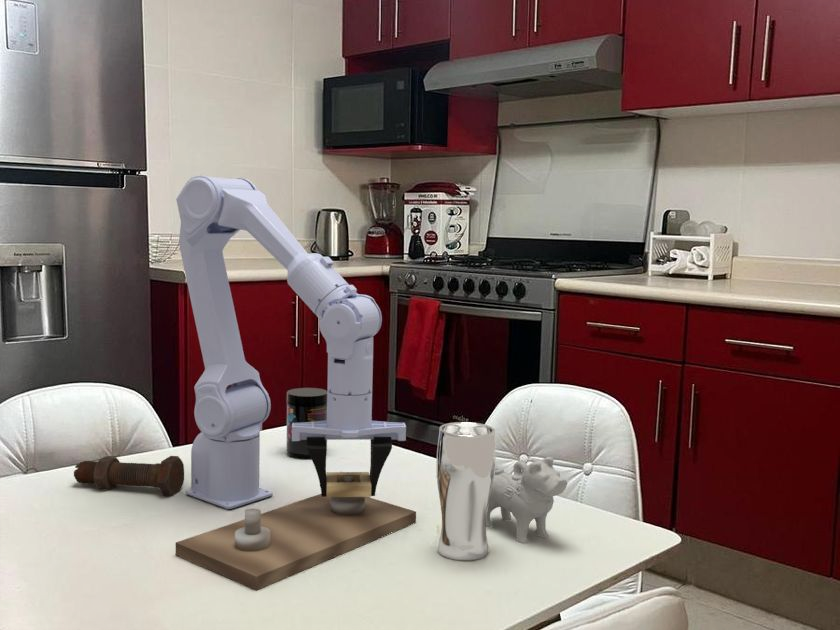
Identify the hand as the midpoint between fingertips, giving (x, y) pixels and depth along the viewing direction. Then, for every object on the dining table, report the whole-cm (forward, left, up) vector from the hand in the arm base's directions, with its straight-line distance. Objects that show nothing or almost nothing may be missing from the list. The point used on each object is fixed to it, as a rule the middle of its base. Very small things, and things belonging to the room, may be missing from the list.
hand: (347, 493), depth 112 cm
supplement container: (-26, +18, -4) cm, 32 cm away
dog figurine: (+19, +12, -4) cm, 23 cm away
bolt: (-32, -12, -4) cm, 34 cm away
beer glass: (+17, +2, -4) cm, 18 cm away
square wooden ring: (0, 0, +1) cm, 1 cm away
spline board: (0, -8, -4) cm, 9 cm away
